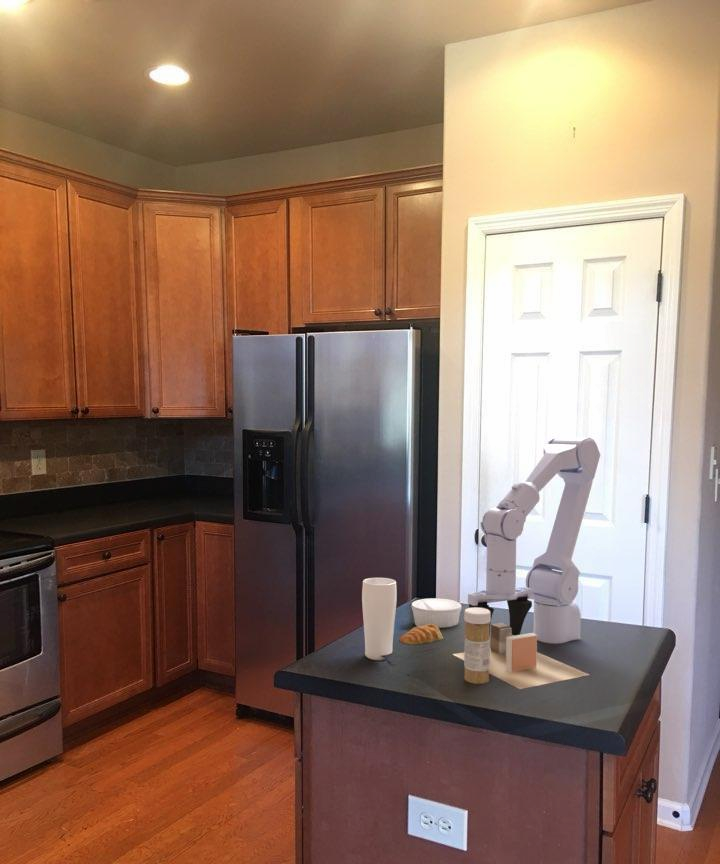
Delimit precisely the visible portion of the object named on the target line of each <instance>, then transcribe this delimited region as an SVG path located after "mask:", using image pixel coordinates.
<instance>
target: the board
mask: <svg viewBox="0 0 720 864" xmlns="http://www.w3.org/2000/svg"><path fill="white" fill-rule="evenodd" d="M452 655H453V656H455V657H456V658H458V659H460V660H462V661H464V652H458V653H452ZM489 675H492V676H493V677H495V678H497V679H499V680H501V681H503V682H504V683H506V684H509V685H510V686H512V687H514V688H516V689H518V690H525V689H529V688H533V687H538V686H543V685H549V684H553V683H557V682H562V681H566V680H567V681H568V680H572V679H577V678H578V679H579V678H582V677H587V676H590V674H589V673H587V672H584V671H581V670H580V669H577V668H575V667H572V666H571V665H568V664H566V663H564V662H561V661H558V659H557V660H556V659H555V658H553V657H552V658H551V657H549V656H547V655H545V654H542V653H540V652H538V651H537V667H534V668H529V669H524V670H519V671H513V672H510V671H508V670H506V653H504V654H500V653H497V652H495V651H493V650H491V647H490V666H489Z"/></svg>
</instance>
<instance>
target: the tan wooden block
mask: <svg viewBox="0 0 720 864" xmlns="http://www.w3.org/2000/svg"><path fill="white" fill-rule="evenodd" d="M509 636H513V635H512V628H510V625H508V624H505V623H503V622H498V623H490V648H491V650H493V651H495V652H497V653H500V654H504V653H506V637H509Z"/></svg>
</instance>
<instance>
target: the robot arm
mask: <svg viewBox="0 0 720 864" xmlns="http://www.w3.org/2000/svg"><path fill="white" fill-rule="evenodd" d="M600 458H601V453H600V450H599V447H598V445H597V442H596V441H595V439H593V438H592V437H560V436H554V437H552V438H550V439H549V440H548V442H547V443H546V445H544V446H543V455H542V457H541V459H540V460H539V462H538V463H537V464H536V466H535V467H534V468H533V470H532V471H531V473H530V474H529V476H528V477H527V478H526V480H525V481H519V482H517V483H514V484H513V485H512V486H511V489H510V491H508V492H507V494H506V495H505V496H504V498H503V499H502V500H500V502H499V503H498V505H496V507H492V508H489V510H487V511H486V512H485V513H484V514H483V516H482V519H481V520H482V521H480V528H481V532H482V533H483V535H484V543H485V544H486V569H485V570H486V573H485V574H486V576H485V577H486V578H485V579H486V581H485V582H486V583H485V589H482V590H479V591H476V592H472V593H471V592H470V593H467V604H468V608H473V607H478V608H485V609H488V610H489V611H490V613H491V619H492V617H493V614H494V611H495V609H494V608H492V607H490V605H489V603H490V604H492V603H497V602H498V603H499V602H507V607H508V614H509V615H508V616H509V626H510V628H512V636H515V635H521V632H522V628H523V625H524V621H525V619H526V616H527V614H528V613H529V611H530V609H531V608H532V607H533V632H532V633H534V634H536V635H537V642H538V641H539V642H542V643H546V644H564V643H568V642H570V641H576V640H581V634H582V633H581V629H582V628H581V626H582V625H581V621H582V619H581V617H582V615H581V609H580V607H579V605H578V604H577V602H575V601H574V600H575V599H576V597H577V596H578V592H579V577H580V575H581V573H580V572H581V571H580V569H579V568H578V566H576V565H575V563H574V562H573V560H572V558H573V556H574V555H573V554H574V552H575V551H574V550H575V548H576V545H577V544H576V543H577V540H578V537H579V533H580V529H581V526H582V521H583V519H584V516H585V512H586V508H587V504H588V501H589V498H590V493H591V490H592V486H593V481H594V480H595V476H596V472H597V469H598V467H599V466H598V465H599V461H600ZM556 475H558V476H559V477H560V479H563V482H564V487H563V491H562V495H561V498H560V501H559V504H558V507H557V512H556V515H555V519H554V522H553V526H552V530H551V533H550V537H549V540H548V544H547V546H546V547H547V548H546V551H545V552H544V553H542V554H540V555H539V556H537V557H536V558H535V559H533V560H534V561H533V564H532V567H531V568H530V569H529V571H528V572H527V575H526V577H525V587H516V584H517V583H516V579H517V578H516V577H517V576H516V575H517V539H518V538H519V537H520V536H521V535H522V533H523V531H524V525H525V523H526V520H527V516H528V515H530V514H531V513H532V511H533V510H534V508H535V507H536V506H537V504H538V503H539V502H540V498H541V497H540V492H541V491H542V490H543V489H544V488H545V487H546V485H547V484H549V483H550V481H551V480H552V479H553V478H554V477H555V476H556ZM529 599H530V600H529ZM532 600H533V601H532ZM491 622H492V620H491V621H490V625H489V639H491V624H492V623H491Z"/></svg>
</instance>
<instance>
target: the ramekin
mask: <svg viewBox="0 0 720 864" xmlns="http://www.w3.org/2000/svg"><path fill="white" fill-rule="evenodd" d="M411 610H412V614H413V619H414V624H415V627H419V626H425V625H426V624H427V625H430V624H433V625H436V626H437V627H438V628H439V629H440V628H450V627H455V626H456V625H459V619H460V615H461V611H462V604H461V603H460V602H458V601H456V600H452V599H448V598H435V597H433V598H432V597H431V598H422V599H416V600H414V601H413V602H411Z"/></svg>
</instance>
